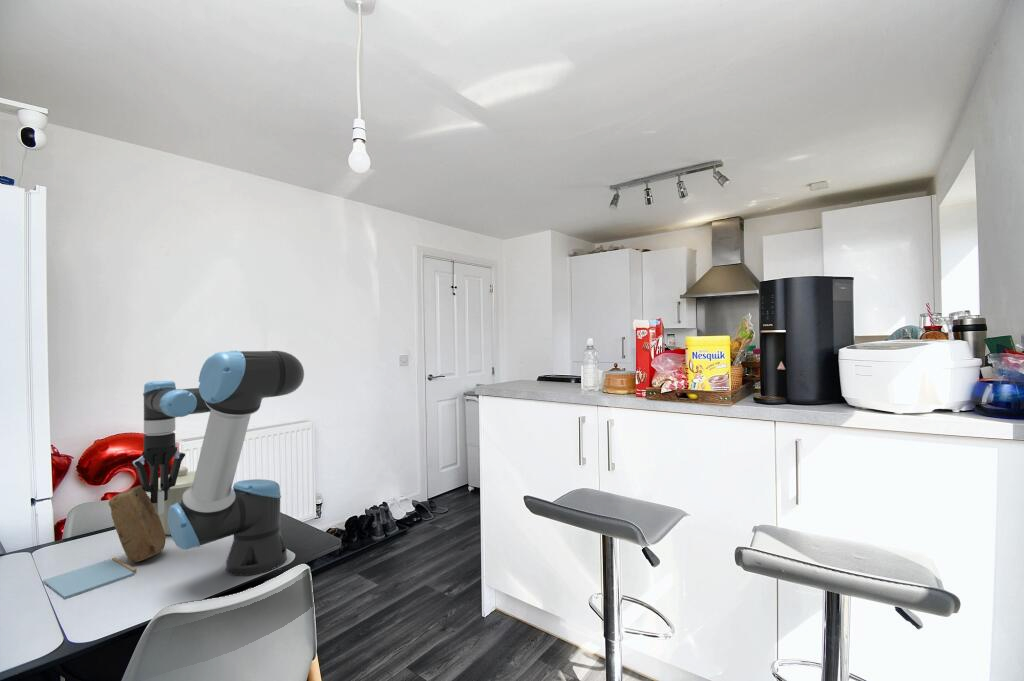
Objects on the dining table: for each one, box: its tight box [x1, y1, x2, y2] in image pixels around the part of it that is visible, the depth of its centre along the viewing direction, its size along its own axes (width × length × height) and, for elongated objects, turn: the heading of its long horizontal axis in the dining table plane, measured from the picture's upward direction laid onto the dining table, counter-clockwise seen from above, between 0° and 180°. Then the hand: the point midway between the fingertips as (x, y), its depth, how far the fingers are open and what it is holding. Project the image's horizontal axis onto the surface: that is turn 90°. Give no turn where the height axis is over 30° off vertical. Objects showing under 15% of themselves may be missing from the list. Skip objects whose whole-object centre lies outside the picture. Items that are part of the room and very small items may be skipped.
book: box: [42, 557, 137, 600], centre depth 124 cm, size 16×15×1 cm
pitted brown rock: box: [108, 485, 166, 563], centre depth 135 cm, size 11×8×20 cm
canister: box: [158, 466, 196, 536], centre depth 157 cm, size 18×18×21 cm
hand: (159, 512), depth 137 cm, fingers closed
